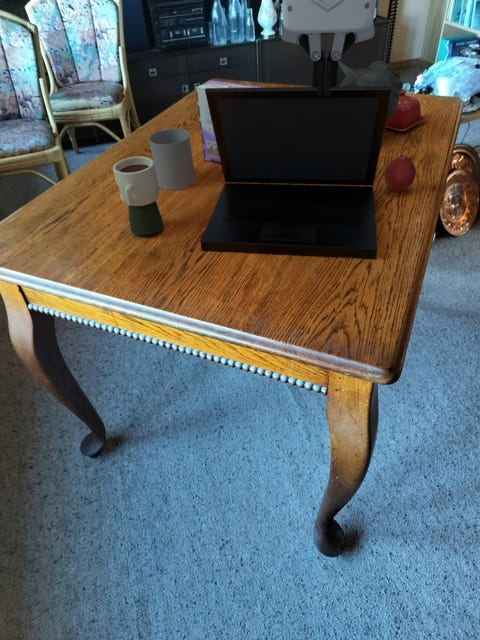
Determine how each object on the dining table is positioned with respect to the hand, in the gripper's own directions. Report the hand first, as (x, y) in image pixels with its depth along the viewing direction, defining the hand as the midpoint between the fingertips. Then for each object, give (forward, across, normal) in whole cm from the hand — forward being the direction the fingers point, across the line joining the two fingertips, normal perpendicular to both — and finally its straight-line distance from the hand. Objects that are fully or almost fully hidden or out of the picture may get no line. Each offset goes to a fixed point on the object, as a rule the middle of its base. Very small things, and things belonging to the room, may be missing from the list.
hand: (324, 92), depth 59 cm
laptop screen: (+15, -5, +21) cm, 26 cm away
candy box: (+27, -21, +40) cm, 53 cm away
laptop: (+27, -5, +14) cm, 31 cm away
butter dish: (+27, +17, +63) cm, 71 cm away
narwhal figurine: (+27, +8, +51) cm, 58 cm away
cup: (+27, -32, +29) cm, 51 cm away
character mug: (+27, -32, +9) cm, 43 cm away
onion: (+27, +15, +27) cm, 41 cm away
